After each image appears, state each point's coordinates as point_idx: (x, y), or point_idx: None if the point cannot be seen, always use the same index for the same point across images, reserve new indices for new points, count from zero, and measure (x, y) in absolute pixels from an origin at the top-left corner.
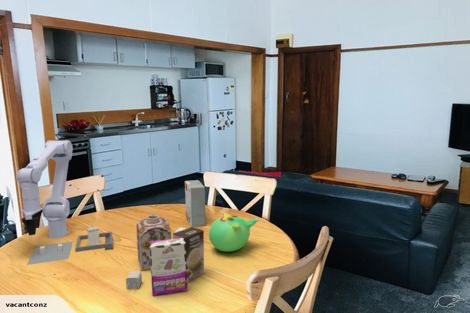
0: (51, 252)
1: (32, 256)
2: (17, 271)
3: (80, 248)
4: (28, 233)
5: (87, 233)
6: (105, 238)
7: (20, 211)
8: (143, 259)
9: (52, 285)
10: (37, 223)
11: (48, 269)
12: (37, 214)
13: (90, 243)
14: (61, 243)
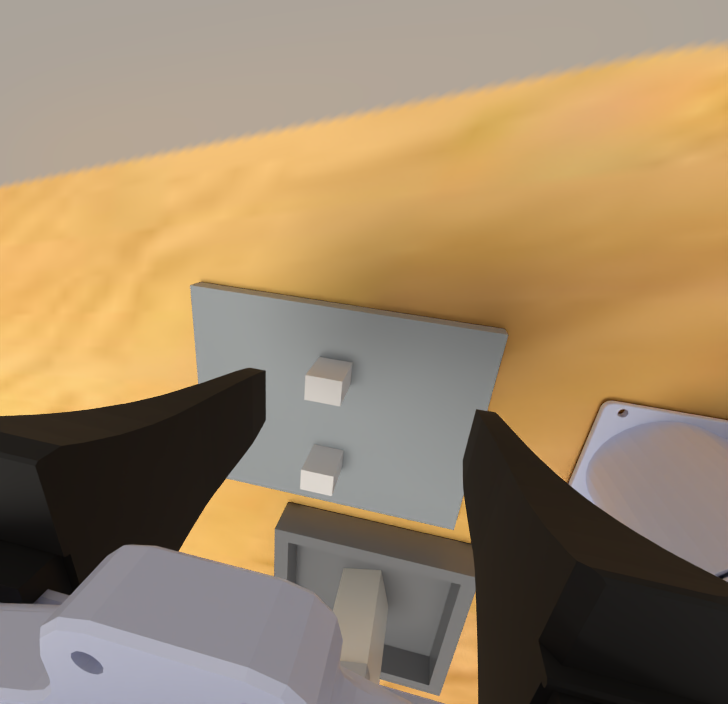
0: (326, 414)
1: (308, 313)
2: (159, 233)
3: (277, 543)
4: (233, 373)
5: (365, 640)
6: (420, 639)
7: (78, 592)
8: None
9: (3, 386)
10: (472, 496)
11: (148, 381)
12: (492, 655)
13: (340, 587)
14: (456, 475)
